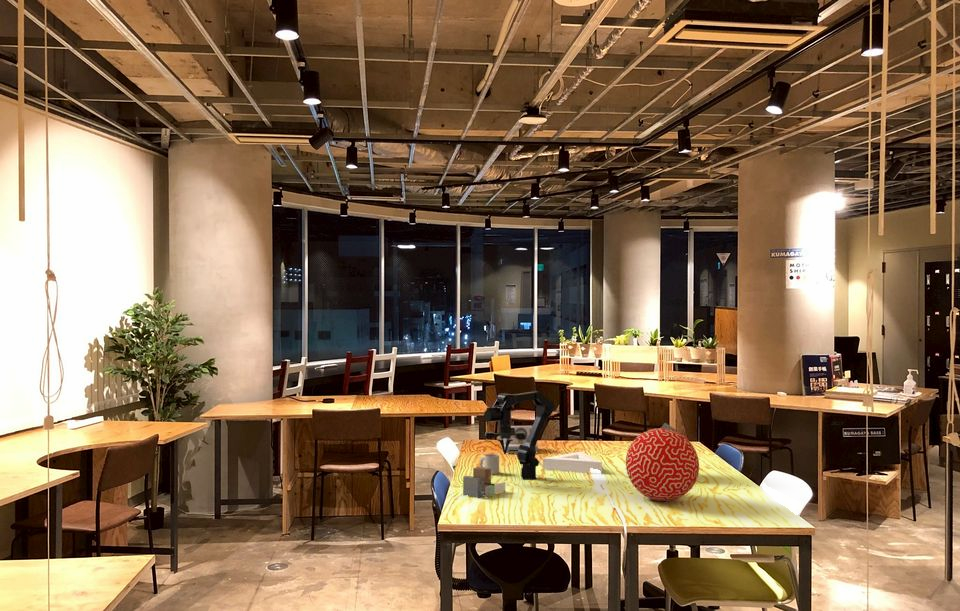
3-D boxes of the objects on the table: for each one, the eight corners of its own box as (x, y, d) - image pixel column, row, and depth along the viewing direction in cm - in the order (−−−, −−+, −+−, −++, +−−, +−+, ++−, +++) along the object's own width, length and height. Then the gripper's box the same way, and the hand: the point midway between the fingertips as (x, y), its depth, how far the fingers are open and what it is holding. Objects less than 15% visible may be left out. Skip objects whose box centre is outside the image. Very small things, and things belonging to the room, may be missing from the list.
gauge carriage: (480, 486, 317) (480, 466, 317) (500, 490, 310) (500, 469, 311) (473, 488, 313) (473, 468, 313) (493, 492, 306) (493, 471, 307)
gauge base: (486, 487, 323) (486, 478, 323) (506, 491, 316) (506, 481, 316) (466, 493, 311) (466, 483, 311) (486, 497, 304) (486, 487, 304)
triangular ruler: (542, 470, 362) (542, 458, 362) (553, 461, 387) (553, 449, 387) (601, 475, 353) (601, 462, 353) (609, 465, 377) (609, 453, 377)
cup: (497, 475, 349) (497, 457, 349) (477, 474, 351) (477, 456, 352) (500, 472, 356) (500, 454, 356) (481, 471, 358) (481, 453, 359)
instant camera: (500, 454, 405) (500, 428, 405) (501, 448, 425) (501, 422, 426) (538, 455, 403) (538, 428, 404) (537, 448, 424) (537, 423, 424)
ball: (620, 491, 317) (620, 423, 317) (688, 491, 316) (688, 423, 316) (632, 508, 287) (632, 433, 287) (708, 509, 286) (707, 434, 286)
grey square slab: (466, 493, 311) (466, 475, 311) (481, 496, 306) (481, 478, 306) (463, 495, 309) (463, 476, 309) (477, 497, 304) (477, 479, 304)
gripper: (485, 422, 327) (485, 457, 327) (526, 423, 327) (525, 457, 327) (485, 419, 338) (484, 452, 338) (524, 419, 338) (524, 452, 338)
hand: (504, 454), depth 335 cm, fingers closed
